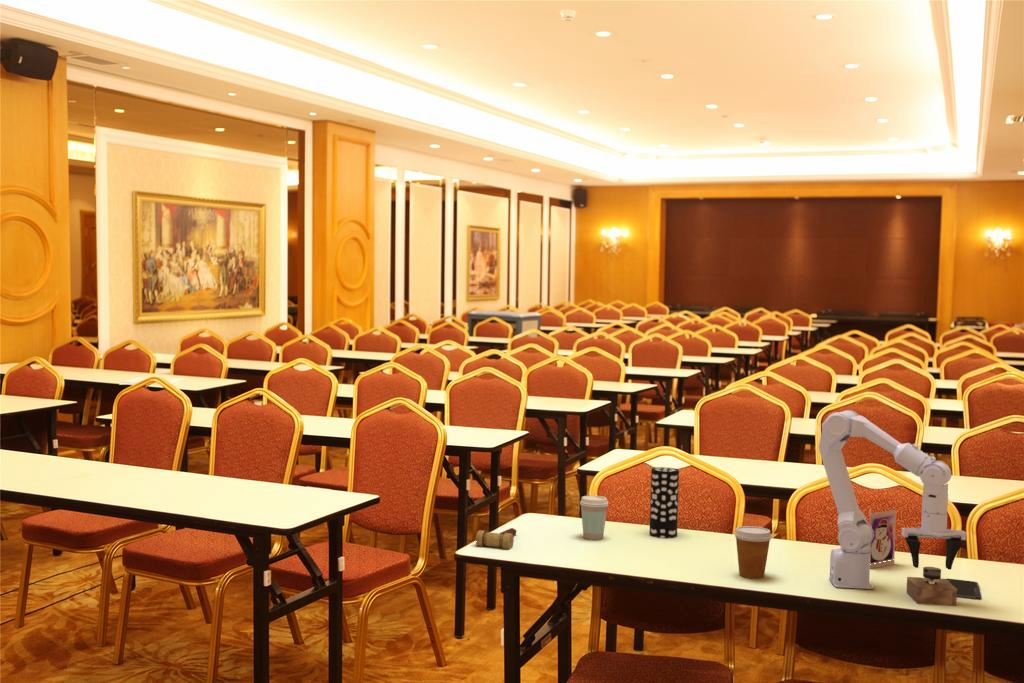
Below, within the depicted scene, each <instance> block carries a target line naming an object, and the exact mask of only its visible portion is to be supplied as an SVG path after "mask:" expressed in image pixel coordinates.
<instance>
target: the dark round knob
mask: <svg viewBox="0 0 1024 683" xmlns="http://www.w3.org/2000/svg"><path fill="white" fill-rule="evenodd" d="M922 569H923V570H922V578H929V583H928V584H935V579H942V569H941V568H939V567H936V566H924V567H922Z"/></svg>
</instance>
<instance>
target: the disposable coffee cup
mask: <svg viewBox="0 0 1024 683" xmlns="http://www.w3.org/2000/svg"><path fill="white" fill-rule="evenodd" d="M733 535H734V536H735V540H736V541H735V542H736V551H737V562H738V574H739V576H740V577H743V578H747V579H762V578H764V576H765V572H766V567H767V565H766V564H767V562H768V561H767V560H768V555H769V550H770V548H769V547H770V542H771V540H772V537H773V536H772V534H771V530H770V529H768V528H766V527H762V526H753V525H752V526H751V525H745V526H744V525H743V526H738V527H736V528H735V532H733Z"/></svg>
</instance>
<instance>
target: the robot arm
mask: <svg viewBox="0 0 1024 683" xmlns="http://www.w3.org/2000/svg"><path fill="white" fill-rule="evenodd" d="M821 429H822V431H821V434H820V438H819V443H818V450H819V454H820V458H821V460H822V463H823V467H824V469H825V475H826V476H827V477H826V478H827V480H828V483H829V487H830V490H831V493H832V497H833V500H834V504H835V506H836V510H837V513H838V514H837V515H838V517H837V521H836V522H837V524H836V525H837V527H838V529H837V530H838V533H837V534H838V535H837V541H838V544H839V545H840V547H839V548H832V549H831V551H830V558H829V560H830V561H829V577H828V580H829V581H830V583H831V584H832V585H833V586H834V587H835V588H843V589H845V588H846V589H861V590H863V589H864V590H866V589H867V590H874V589H875V587H874V586H873V585H872V583H871V582H870V572H871V570H870V569H871V568H870V550H871V549H870V547H869V543H871V541H872V540H873V537H874V532H873V529H872V527H871V526H870V525H869V522H868V521H867V519H866V518H867V517H866V515H865V514H864V513H863V511H861V509H860V507H859V504H858V501H857V497H856V495H855V494H856V493H855V490H854V488H853V484H852V481H851V478H850V474H849V471H848V468H847V464H846V462H845V459H844V454H843V451H842V449H843V448H844V446H845V444H846V443H847V441H848V440H849V439H850V438H851V437H852V438H865V439H867V440H868V441H870V442H872V443H873V444H875V445H877V446H879V447H881V448H882V449H884V450H885V451H887V452H889V453H890V454H892V456H893V458H894V461H895V463H896V464H898V465H900V466H901V467H903V468H904V469H906V470H907V471H908V472H911V473H912V474H913V475H915V476H917V478H918V477H919V478H920V480H921V483H922V484H923V488H922V489H923V490H922V499H921V500H922V501H921V502H922V503H921V517H920V518H921V519H920V521H921V523H920V524H921V525H920V527H917V526H916V527H901V534H900V535H901V537H903V538H904V540H905V541H906V544H907V546H908V549H909V552H910V556H911V560H912V561H911V562H912V566H913V567H914V568H915V569H916V568H917V569H919V564H920V562H919V561H920V560H919V559H920V549H921V543H922V542H921V541H920V538H927V539H930V538H931V539H943V540H944V539H945V568H946V569H947V570H952V569H953V568H952V567H953V564H954V561H955V558H956V556H957V554H958V552H959V551H960V549H961V548H962V547H963V541H966V540H967V532H966V531H964V530H962V529H961V530H959V529H958V530H957V529H951V528H948V508H949V504H948V503H949V481H950V480H951V478H952V470H951V468H950V467H949V465H948V464H946V462H945V461H943V460H937V457H935V455H932V456H931V455H929V454H927V453H925V452H923V451H922V450H921V449H919V447H920V446H919V445H918V444H916V443H913V444H911V443H910V442H906V443H905V442H904V443H901V442H899V440H897V439H896V438H894V437H892V436H891V435H890V434H888V432H885V431H884V430H883V429H881V428H880V427H878V426H877V425H876V424H874V423H872V421H870V420H868V418H866V417H865V416H863V415H861V414H858V413H857V412H856V411H854V410H851V409H850V410H849V409H845V410H843V411H839V412H832V413H830V414H829V415H828V416H827V417H826V418H825V419H824V421H823V422H822V424H821Z"/></svg>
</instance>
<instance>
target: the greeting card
mask: <svg viewBox="0 0 1024 683" xmlns="http://www.w3.org/2000/svg"><path fill="white" fill-rule="evenodd" d="M896 523H897V509H891V510H886V511H878V512H873V513H872V509H869V522H868V524H869V525H870V526H871V527H872V529H873V532H874V537H873V540H872V541H871V543H869V547H870V549H871V550H870V564H871V565H870V569H873V568H874V569H875V568H879V567H884V566H889V565H890V566H891V565H894V564H895V552H896V551H895V550H896V549H895V548H896V528H897V526H896V525H897V524H896ZM893 559H894V560H893ZM888 560H891V561H888ZM883 561H886V562H883ZM879 562H881V563H879ZM874 563H876V564H874Z"/></svg>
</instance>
